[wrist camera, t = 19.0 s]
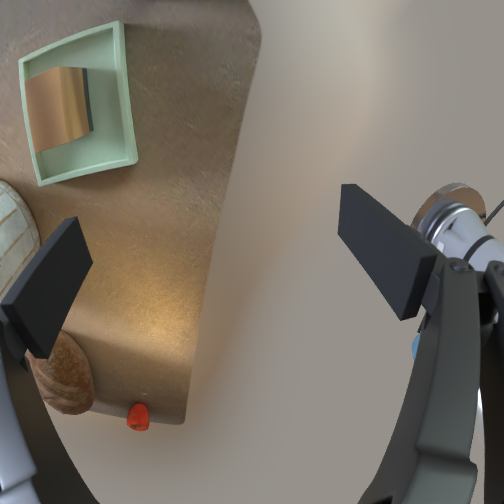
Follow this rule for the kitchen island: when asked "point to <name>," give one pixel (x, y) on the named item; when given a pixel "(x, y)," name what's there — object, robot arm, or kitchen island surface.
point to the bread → (65, 377)
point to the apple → (138, 417)
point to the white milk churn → (15, 237)
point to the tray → (101, 102)
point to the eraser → (58, 106)
